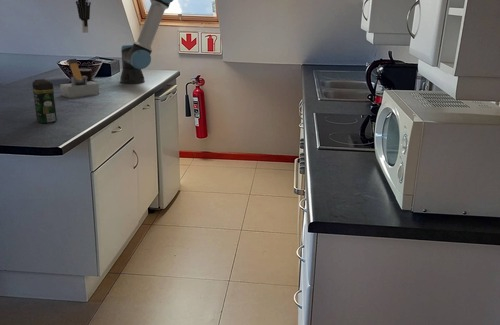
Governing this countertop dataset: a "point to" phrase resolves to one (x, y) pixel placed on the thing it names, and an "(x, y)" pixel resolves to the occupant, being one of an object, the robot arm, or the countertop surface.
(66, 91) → the breaker box
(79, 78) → the lever
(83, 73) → the coffee mug
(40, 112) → the coffee jar
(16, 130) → the countertop surface
